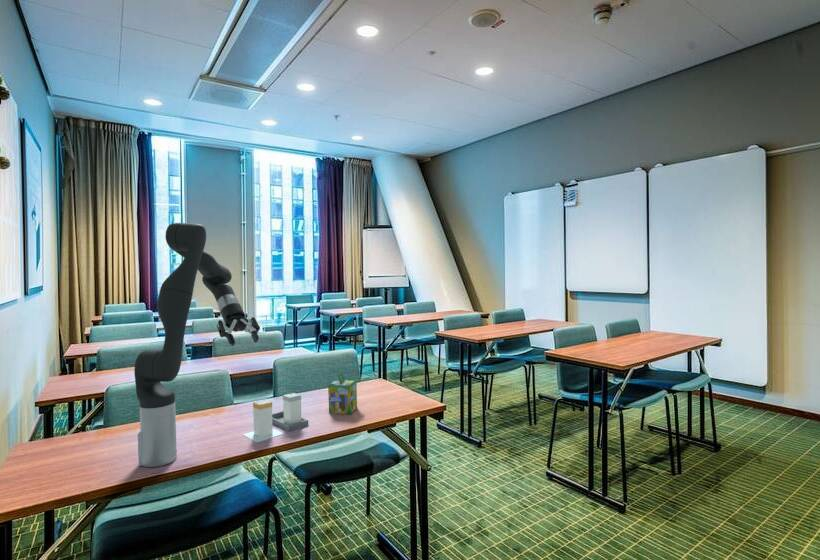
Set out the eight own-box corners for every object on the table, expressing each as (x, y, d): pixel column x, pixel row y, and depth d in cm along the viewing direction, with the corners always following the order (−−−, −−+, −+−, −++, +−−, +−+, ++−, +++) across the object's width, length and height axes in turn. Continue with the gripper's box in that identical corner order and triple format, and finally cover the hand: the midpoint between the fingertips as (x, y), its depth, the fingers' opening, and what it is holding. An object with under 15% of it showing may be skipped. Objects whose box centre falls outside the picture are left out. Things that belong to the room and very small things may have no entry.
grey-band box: (283, 425, 160) (283, 395, 159) (294, 422, 163) (294, 392, 163) (290, 428, 156) (289, 397, 156) (301, 425, 160) (301, 394, 159)
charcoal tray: (266, 421, 165) (265, 415, 165) (285, 416, 171) (285, 410, 171) (288, 432, 154) (288, 425, 154) (308, 426, 160) (308, 420, 160)
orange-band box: (253, 434, 151) (252, 402, 151) (266, 430, 155) (265, 399, 154) (260, 437, 148) (259, 405, 148) (272, 433, 151) (272, 402, 151)
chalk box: (350, 415, 171) (349, 377, 170) (328, 414, 173) (327, 376, 172) (358, 407, 180) (357, 371, 179) (336, 406, 182) (336, 371, 181)
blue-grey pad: (242, 435, 151) (242, 434, 151) (269, 427, 158) (269, 426, 158) (256, 443, 144) (256, 442, 144) (284, 435, 151) (284, 433, 151)
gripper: (214, 303, 159) (228, 338, 152) (251, 301, 169) (267, 333, 162) (208, 317, 163) (222, 352, 155) (245, 314, 173) (260, 346, 166)
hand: (245, 342), depth 159 cm, fingers open, 8 cm apart
